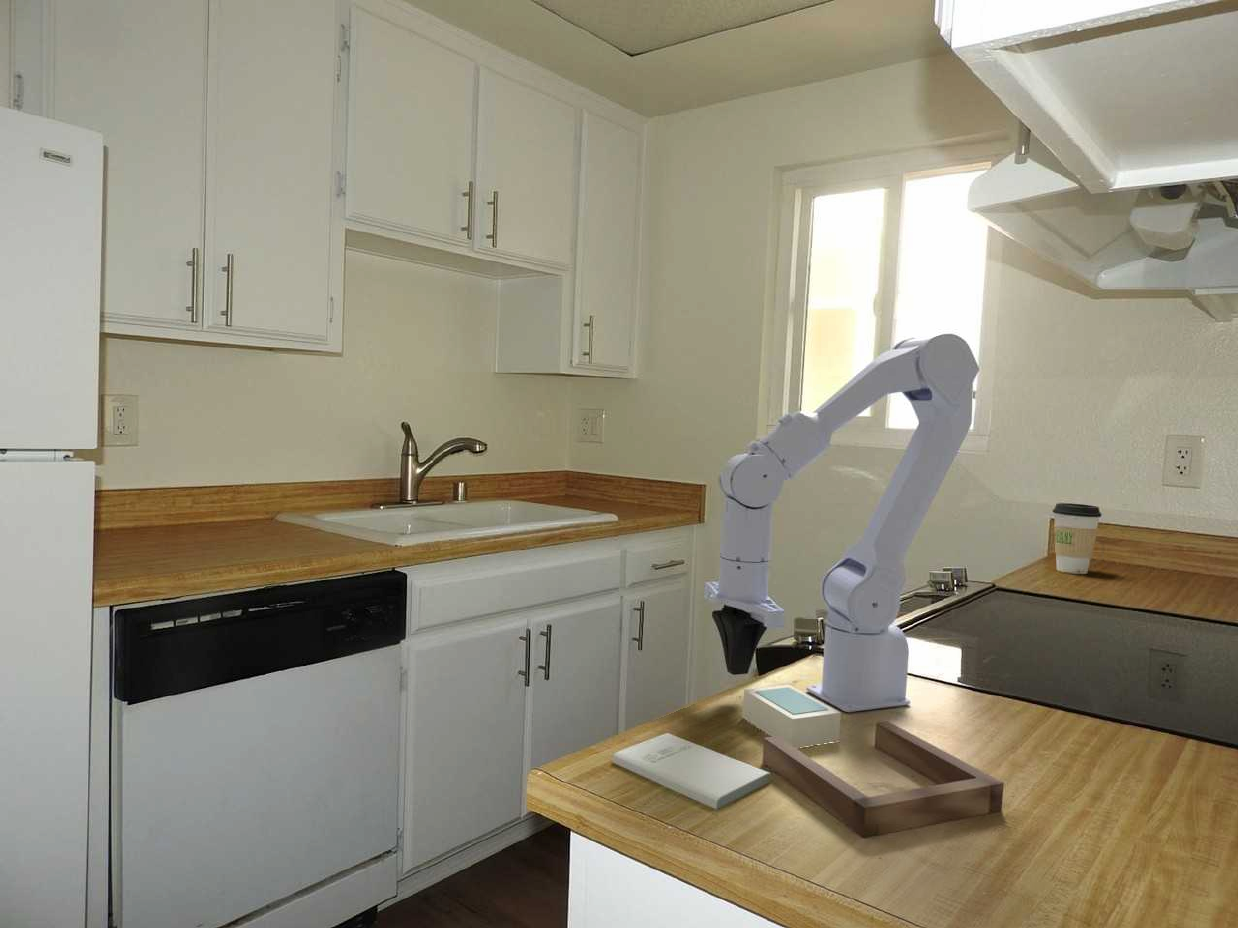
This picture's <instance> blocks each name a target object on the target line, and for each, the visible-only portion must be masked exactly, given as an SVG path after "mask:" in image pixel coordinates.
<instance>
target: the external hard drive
mask: <svg viewBox="0 0 1238 928" xmlns="http://www.w3.org/2000/svg"><path fill="white" fill-rule="evenodd" d="M612 759H613V760H612V763H613V764H615V765H617V766H620V767H622V768H624V769H626V770H629V771H630V772H633V773H635V774H637V775H639V776H642V777H643V778H646V779H647V780H650V781H652V782H654V783H656V784H659V785H662V786H663V787H665V788H668V789H670V790H672V791H675V792H677V793H679V794H682V795H683V796H686V797H688V798H690V799H692V800H695V801H697V802H699V803H701V804H702V805H704V806H708V807H710V808H712V809H715V810H719V809H720V808H722V807H725V806H726V805H728V804H730V803H732V802H734V801H736V800H738V799H740V798H743V797H744V796H745V795H746V796H747V794H750V793H752V792H753V790H754V791H756V790H757V788H758V787H760V788H761V786H762V787H764V786H765V785H764V784H766V785H767V783H768V782H770V781H771V780H772V778H771V777H772V775H771V772H769V771H765V770H764V769H761V768H758V767H755V766H753V765H750V764H748V763H746V762H743V761H741V760H737V759H735V758H732V757H731V756H730V757H729V756H727V755H726V754H725V755H724V754H723V753H721V752H720V753H719V752H718V751H714V750H712V749H709V748H707V747H704V746H702V745H699V744H697V743H695V742H694V743H693V742H691V741H689V740H686V739H683V738H680V737H678V736H676V735H674V734H672V733H668V732H667V733H663V734H661V735H658V736H655V737H652V738H650V739H647V740H645V741H642V742H640V743H636V744H634V745H631V746H630V747H629V746H628V747H626V748H624V749H621V750H618V751H617V752H615V753H614V754H613V757H612ZM771 782H772V781H771ZM771 782H770V783H771ZM768 784H769V783H768ZM763 785H764V786H763ZM755 789H756V790H755ZM758 789H759V788H758ZM751 791H752V792H751Z"/></svg>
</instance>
